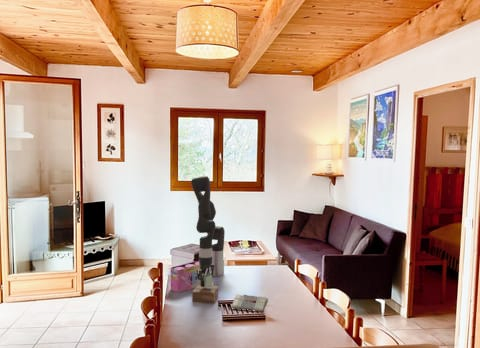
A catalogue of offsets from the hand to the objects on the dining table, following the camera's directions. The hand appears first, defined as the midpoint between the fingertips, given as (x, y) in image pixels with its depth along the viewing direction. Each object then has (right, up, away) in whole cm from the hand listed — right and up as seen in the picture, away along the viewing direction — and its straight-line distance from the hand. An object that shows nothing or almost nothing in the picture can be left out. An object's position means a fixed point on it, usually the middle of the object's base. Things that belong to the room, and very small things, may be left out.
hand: (205, 285), depth 210 cm
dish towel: (+25, -9, -7) cm, 27 cm away
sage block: (0, 0, 0) cm, 0 cm away
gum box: (-12, -7, +20) cm, 25 cm away
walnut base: (0, -8, 0) cm, 8 cm away
